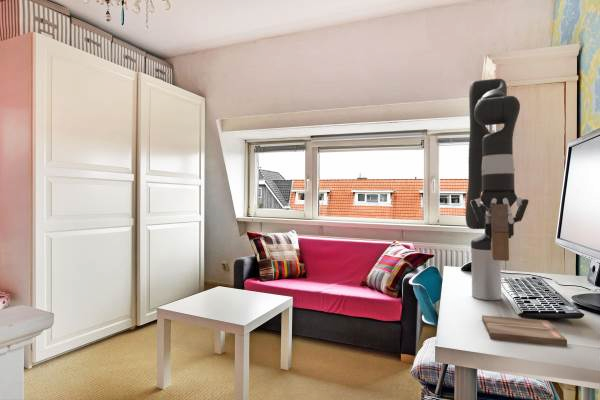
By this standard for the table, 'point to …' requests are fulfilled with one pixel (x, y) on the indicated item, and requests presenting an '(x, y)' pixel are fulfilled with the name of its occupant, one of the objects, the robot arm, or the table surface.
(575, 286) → the table surface
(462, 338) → the table surface
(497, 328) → the board
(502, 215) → the tan cylinder-on-bar part
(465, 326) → the table surface
